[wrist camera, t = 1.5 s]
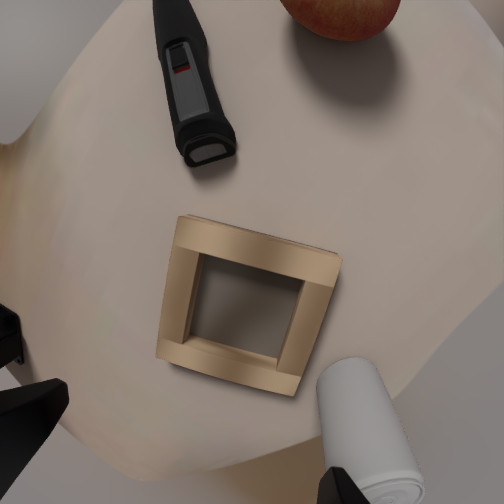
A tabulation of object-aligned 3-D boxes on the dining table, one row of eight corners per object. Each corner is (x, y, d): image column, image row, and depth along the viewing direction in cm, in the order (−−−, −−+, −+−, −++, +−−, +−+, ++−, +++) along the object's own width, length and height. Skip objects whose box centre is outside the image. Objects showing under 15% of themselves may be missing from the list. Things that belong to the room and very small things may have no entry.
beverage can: (304, 392, 21) (308, 525, 10) (337, 343, 20) (374, 475, 9) (354, 410, 21) (382, 531, 10) (389, 365, 20) (446, 482, 9)
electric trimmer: (195, -12, 17) (183, -34, 14) (242, 153, 19) (233, 145, 16) (152, 4, 18) (136, -14, 14) (188, 170, 20) (170, 165, 17)
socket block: (165, 344, 22) (155, 357, 20) (188, 214, 20) (178, 216, 18) (293, 380, 21) (293, 396, 19) (336, 253, 19) (342, 259, 17)
